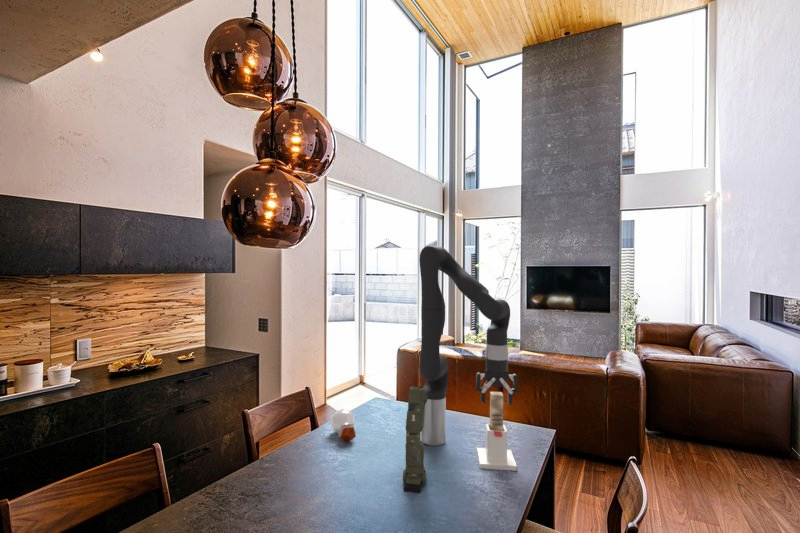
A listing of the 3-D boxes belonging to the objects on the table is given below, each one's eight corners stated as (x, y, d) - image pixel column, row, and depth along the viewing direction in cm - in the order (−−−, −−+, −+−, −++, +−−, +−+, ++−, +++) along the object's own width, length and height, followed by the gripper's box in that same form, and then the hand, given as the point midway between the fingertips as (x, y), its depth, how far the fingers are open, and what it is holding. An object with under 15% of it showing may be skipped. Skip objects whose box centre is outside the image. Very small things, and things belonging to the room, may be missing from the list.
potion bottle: (342, 430, 164) (350, 450, 150) (324, 419, 161) (330, 439, 147) (356, 412, 165) (365, 430, 151) (338, 400, 162) (345, 418, 148)
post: (490, 458, 135) (491, 395, 135) (489, 452, 139) (489, 391, 140) (503, 459, 135) (503, 395, 135) (501, 453, 139) (501, 392, 139)
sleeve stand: (479, 468, 132) (480, 433, 132) (476, 451, 144) (477, 420, 144) (516, 470, 131) (517, 435, 131) (510, 453, 142) (510, 421, 143)
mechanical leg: (421, 497, 113) (426, 388, 120) (397, 494, 114) (403, 386, 122) (427, 484, 126) (431, 386, 133) (405, 481, 127) (410, 384, 135)
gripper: (476, 358, 135) (476, 406, 134) (519, 360, 133) (519, 408, 133) (475, 354, 142) (474, 399, 142) (515, 355, 140) (515, 401, 140)
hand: (496, 403), depth 137 cm, fingers open, 8 cm apart
